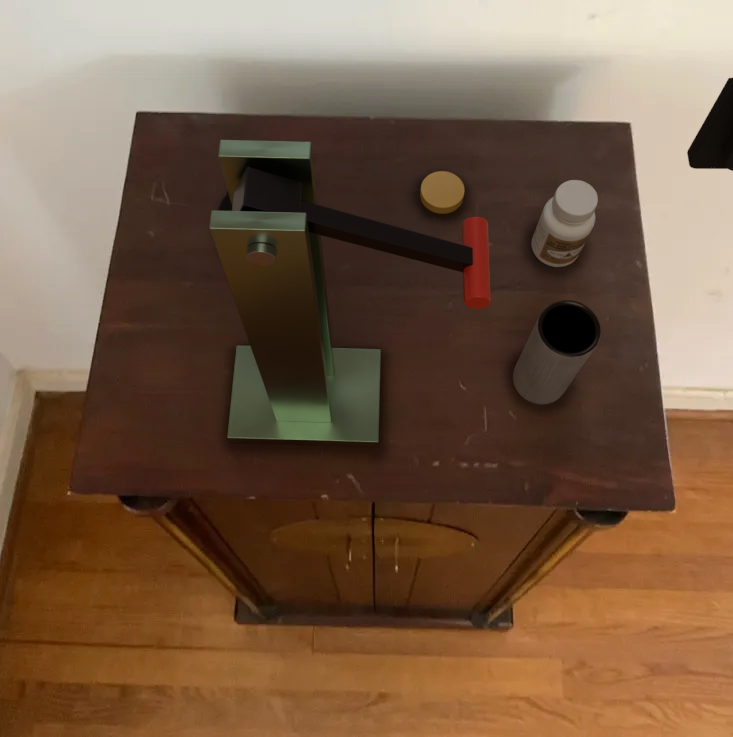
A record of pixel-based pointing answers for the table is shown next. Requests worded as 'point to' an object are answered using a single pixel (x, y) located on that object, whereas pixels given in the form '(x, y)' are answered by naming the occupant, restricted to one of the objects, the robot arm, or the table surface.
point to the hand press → (288, 318)
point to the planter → (556, 351)
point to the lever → (375, 231)
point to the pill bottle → (565, 224)
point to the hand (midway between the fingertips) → (709, 58)
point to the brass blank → (442, 192)
